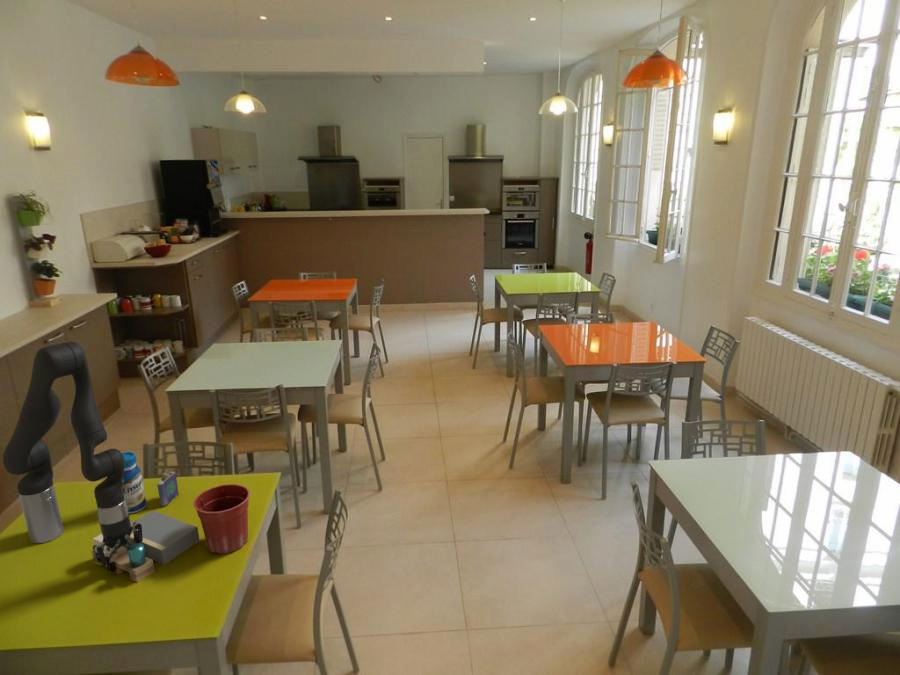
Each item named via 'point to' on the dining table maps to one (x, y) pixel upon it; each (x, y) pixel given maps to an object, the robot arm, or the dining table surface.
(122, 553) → the pallet
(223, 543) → the flower pot
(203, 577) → the dining table surface
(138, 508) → the beverage bottle
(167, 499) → the flask
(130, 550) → the teal canister
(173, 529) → the dock
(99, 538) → the white cube
